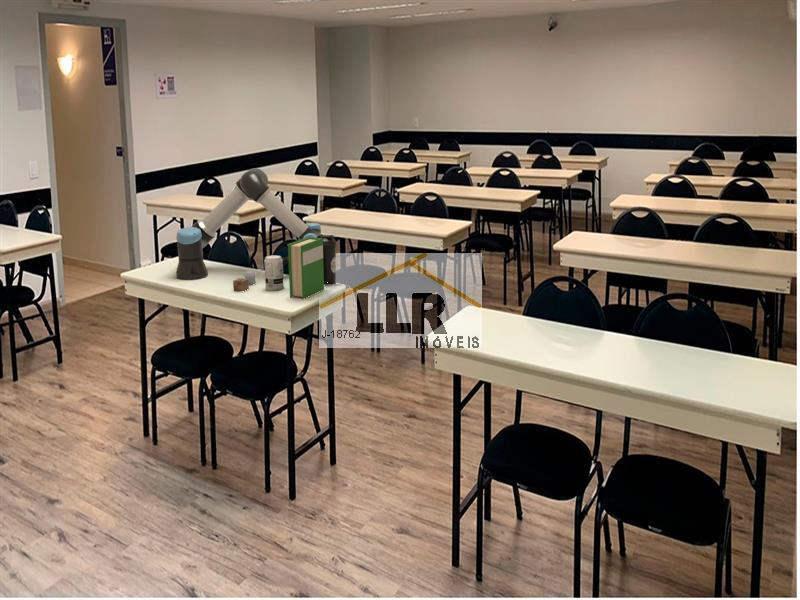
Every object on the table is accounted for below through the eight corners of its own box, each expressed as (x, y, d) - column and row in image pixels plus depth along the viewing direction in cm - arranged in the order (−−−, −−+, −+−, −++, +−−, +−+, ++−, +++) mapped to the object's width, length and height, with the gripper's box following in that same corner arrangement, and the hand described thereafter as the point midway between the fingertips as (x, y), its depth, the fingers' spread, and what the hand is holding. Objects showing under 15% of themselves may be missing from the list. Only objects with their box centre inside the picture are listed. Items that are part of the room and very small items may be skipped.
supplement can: (266, 286, 348) (265, 255, 344) (284, 286, 349) (282, 254, 345) (265, 290, 340) (263, 259, 336) (283, 290, 341) (281, 258, 337)
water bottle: (334, 286, 349) (332, 237, 343) (313, 284, 351) (311, 237, 345) (339, 280, 359) (338, 233, 352) (319, 279, 361) (318, 233, 354)
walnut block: (233, 291, 340) (233, 280, 339) (239, 288, 345) (239, 278, 344) (243, 292, 339) (242, 281, 337) (248, 289, 343) (248, 279, 342)
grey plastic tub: (242, 284, 351) (242, 272, 349) (248, 282, 356) (247, 270, 354) (252, 285, 349) (251, 273, 348) (257, 283, 354) (257, 271, 352)
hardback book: (304, 298, 328) (302, 245, 321) (289, 297, 330) (287, 244, 324) (324, 289, 343) (322, 238, 337) (310, 287, 346) (308, 237, 339)
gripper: (328, 267, 367) (308, 277, 348) (283, 263, 376) (261, 272, 356) (327, 252, 365) (307, 261, 346) (282, 248, 373) (261, 257, 354)
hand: (284, 267), depth 351 cm, fingers open, 13 cm apart
